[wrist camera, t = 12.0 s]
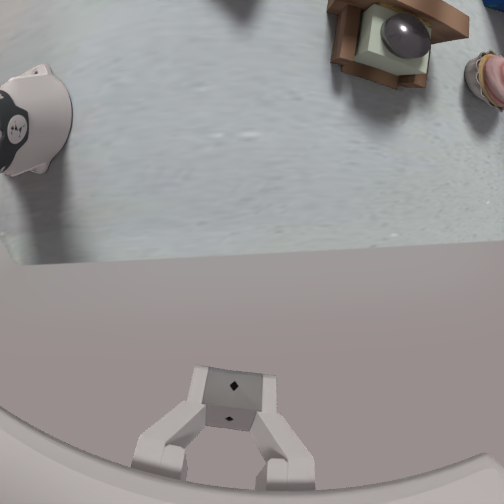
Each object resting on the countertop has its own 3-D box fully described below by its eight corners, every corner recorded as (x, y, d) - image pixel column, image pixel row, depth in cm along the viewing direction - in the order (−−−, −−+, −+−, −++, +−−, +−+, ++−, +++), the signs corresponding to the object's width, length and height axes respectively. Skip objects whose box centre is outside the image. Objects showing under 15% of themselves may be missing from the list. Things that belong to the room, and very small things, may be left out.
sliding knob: (347, 59, 28) (374, 47, 20) (353, 20, 25) (380, -2, 17) (396, 75, 29) (435, 73, 20) (402, 37, 26) (440, 25, 17)
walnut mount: (317, 65, 30) (337, 53, 20) (329, -6, 24) (350, -39, 14) (415, 96, 30) (460, 102, 20) (424, 29, 24) (469, 16, 15)
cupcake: (490, 118, 29) (532, 130, 20) (451, 88, 28) (494, 92, 20) (501, 72, 24) (542, 76, 16) (462, 39, 24) (504, 34, 15)
